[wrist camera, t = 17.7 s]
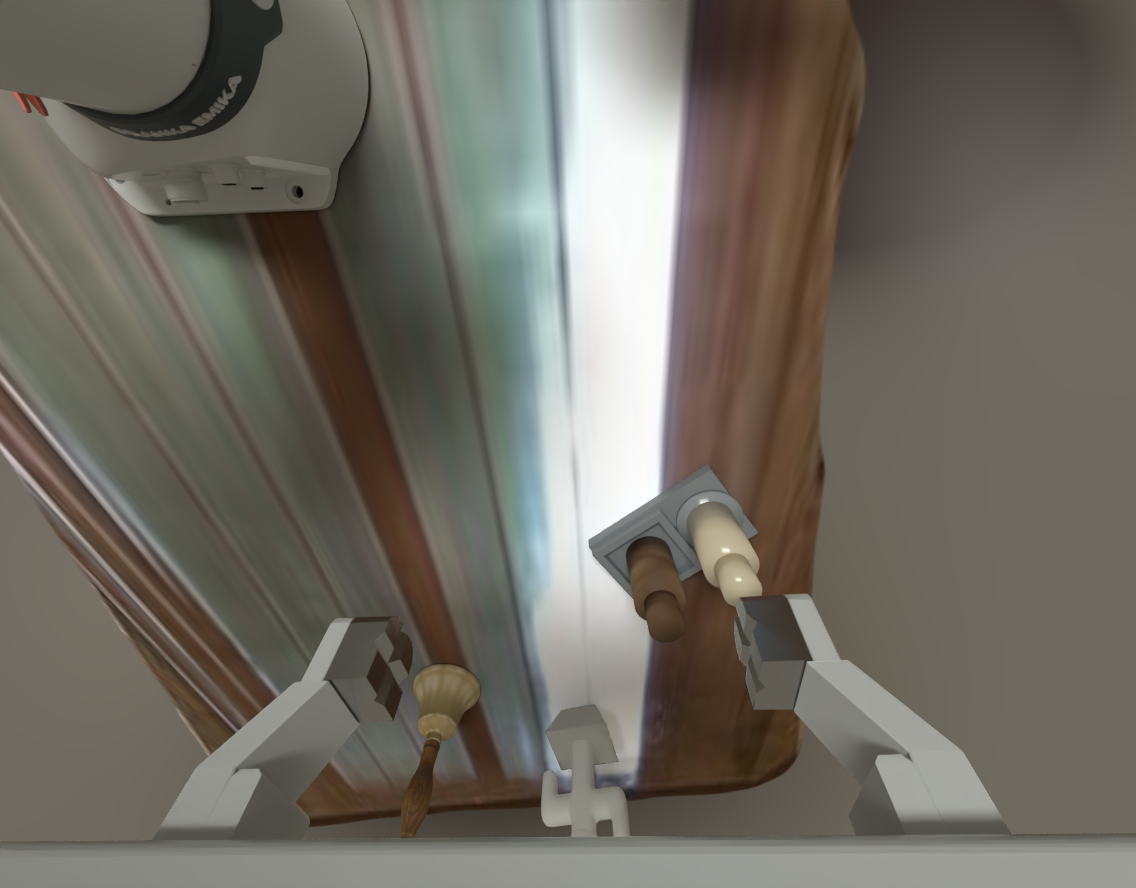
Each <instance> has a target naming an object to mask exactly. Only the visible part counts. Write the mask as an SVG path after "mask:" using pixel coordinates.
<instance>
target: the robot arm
mask: <svg viewBox="0 0 1136 888" xmlns="http://www.w3.org/2000/svg"><path fill="white" fill-rule="evenodd" d="M0 89H3V90H8V91H12V93H13V94H14V95H15V97H16V98H17V100H18V101H19V103H20V104H21V105H22V107H23V108H24V110H25V111H26V112H27V113H31V112H32V111H31V108H30V105H29V103H28V101H27V99H28V100H29V101H30V102H31V103H32V104H33V106H34V107H35V108H36V109H37V110H38V111H39V112H40V113H41V115H43V117H44V118H45V120H46V121H47V123H48V124H49V125H50V127H51V128H52V130H53V131H54V132H55V134H56V135H57V136H58V138H59V139H60V140H61V141H62V143H63V144H64V145H65V146H66V147H67V149H68V150H69V151H70V152H71V153H72V154H73V155H74V156H75V157H76V158H77V159H78V160H79V161H80V162H82V163H83V164H84V165H85V166H86V167H88V168H89V169H90V170H92V171H93V172H95V173H96V174H98V175H100V176H102V177H104V178H105V180H106V181H107V182H108V183H109V184H110V185H111V187H112V188H113V189H114V190H115V191H116V192H117V193H118V194H119V195H120V196H121V197H122V198H123V199H124V200H126V201H127V202H128V203H129V204H130V205H132V206H133V207H134V208H135V209H137V210H138V211H139V212H141V213H143V214H146V215H151V216H160V217H162V216H190V215H213V214H237V213H261V212H285V211H309V210H323V209H326V208H328V207H329V206H330V205H331V203H332V201H333V199H334V196H335V191H336V186H337V180H338V172H339V168H340V165H341V163H342V161H343V159H344V157H345V156H346V154H347V153H348V151H349V150H350V148H351V147H352V145H353V144H354V142H355V140H356V138H357V136H358V134H359V131H360V129H361V126H362V123H363V120H364V116H365V112H366V107H367V99H368V69H367V61H366V55H365V50H364V46H363V42H362V39H361V35H360V32H359V29H358V27H357V24H356V22H355V19H354V17H353V14H352V12H351V10H350V8H349V6H348V4H347V3H346V1H345V0H0ZM26 98H27V99H26ZM123 181H125V182H123ZM299 186H300V187H301V188H302V190H303V196H302V197H301V198H300V197H299V196H298V195H297V188H298V187H299ZM736 608H737V612H738V615H739V617H738V618H736V619H735V627H734V631H735V642H736V647H737V651H738V655H739V659H740V662H741V663H743V664H744V665H745V666H746V667H747V673H746V683H747V687H748V690H749V694H750V697H751V701H752V704H753V707H754V710H755V709H794V712H795V713H796V714H797V715H798V716H799V718H800V719H801V720H802V721H803V722H804V723H805V724H806V725H807V726H808V727H809V729H810V730H811V731H812V732H813V733H814V734H815V735H816V736H817V738H818V739H819V740H820V741H821V742H822V743H823V744H824V745H825V746H826V748H827V749H828V750H829V751H830V752H831V753H832V754H833V755H834V756H835V757H836V759H837V760H838V761H839V762H840V763H841V764H842V765H843V766H844V767H845V769H846V770H847V771H848V772H849V773H850V774H851V775H852V776H853V777H854V778H855V780H856V781H857V782H858V783H859V784H860V785H861V786H862V789H861V791H860V794H859V796H858V797H857V800H856V802H855V804H854V806H853V808H852V810H851V812H850V814H849V818H850V821H851V824H852V827H853V829H854V832H855V835H810V836H809V835H807V836H806V835H805V836H803V835H801V836H800V835H799V836H674V837H673V836H660V837H532V838H531V837H524V838H523V837H522V838H519V837H518V838H392V839H391V838H387V839H385V838H384V839H304V836H305V834H306V831H307V829H308V826H309V823H310V821H309V818H308V815H307V814H305V813H304V812H303V811H302V810H301V809H300V808H299V807H298V806H297V805H296V804H295V802H296V801H297V800H298V798H299V797H300V796H301V795H302V794H303V792H304V791H305V790H306V789H307V788H308V786H309V785H310V784H311V783H312V782H313V780H314V779H315V778H316V777H317V776H318V774H319V773H320V772H321V771H322V769H323V768H324V767H325V766H326V765H327V763H328V762H329V761H330V760H331V759H332V757H333V756H334V755H335V754H336V753H337V751H338V750H339V749H340V748H341V747H342V745H343V744H344V743H345V742H346V741H347V739H348V738H349V737H350V736H351V735H352V733H353V732H354V731H355V730H356V729H357V727H358V726H359V723H366V722H382V721H393V720H394V717H395V714H396V711H397V708H398V705H399V702H400V699H401V696H402V690H401V688H400V685H399V684H400V683H401V682H402V681H403V680H404V679H405V678H406V677H407V676H408V674H409V671H410V667H411V664H412V655H413V649H412V643H411V640H410V638H409V636H408V635H407V634H405V633H403V632H402V631H401V628H402V625H403V624H402V622H401V620H400V619H399V617H398V616H384V617H351V618H336V619H335V620H334V621H333V622H332V623H331V624H330V626H329V628H328V630H327V631H326V633H325V635H324V637H323V639H322V641H321V643H320V645H319V647H318V649H317V651H316V653H315V655H314V657H313V659H312V661H311V663H310V665H309V667H308V669H307V671H306V672H305V674H304V676H303V678H302V680H301V682H294V683H293V684H292V685H291V686H290V687H289V688H288V689H286V690H285V691H284V692H283V693H282V694H281V695H279V696H278V697H277V698H276V699H275V700H274V701H273V702H271V703H270V704H269V705H268V706H267V707H266V708H264V709H263V710H262V711H261V712H260V713H259V714H258V715H256V716H255V717H254V718H253V719H252V720H251V721H249V722H248V723H247V724H246V725H245V726H244V727H243V728H241V729H240V730H239V731H238V732H237V733H236V734H234V735H233V736H232V737H231V738H230V739H229V740H228V741H226V742H225V743H224V744H223V745H222V746H221V747H219V748H218V749H217V750H216V751H215V752H214V753H213V754H211V755H210V756H209V757H208V758H207V759H206V760H204V761H203V762H202V763H201V764H200V765H199V766H198V767H196V769H195V770H194V772H193V774H192V775H191V777H190V779H189V780H188V782H187V784H186V785H185V787H184V789H183V790H182V792H181V794H180V795H179V797H178V798H177V800H176V802H175V803H174V805H173V807H172V808H171V810H170V812H169V813H168V815H167V817H166V818H165V820H164V822H163V823H162V825H161V826H160V828H159V830H158V832H157V833H156V835H155V836H154V838H153V840H127V841H126V840H124V841H122V840H121V841H0V888H1136V833H1092V834H1091V833H1083V834H1080V833H1079V834H1011V832H1010V830H1009V829H1008V827H1007V825H1006V824H1005V822H1004V820H1003V819H1002V817H1001V815H1000V814H999V812H998V810H997V809H996V807H995V805H994V803H993V802H992V800H991V798H990V797H989V795H988V793H987V792H986V790H985V788H984V787H983V785H982V783H981V782H980V780H979V778H978V777H977V775H976V773H975V772H974V770H973V768H972V766H971V765H970V763H969V762H968V760H967V758H966V756H965V755H964V753H963V751H961V750H960V749H959V748H958V747H956V746H955V745H954V744H953V743H951V742H950V741H949V740H948V739H946V738H945V737H944V736H943V735H941V734H940V733H939V732H938V731H936V730H935V729H934V728H932V727H931V726H930V725H929V724H928V723H926V722H925V721H924V720H922V719H921V718H920V717H919V716H918V715H916V714H915V713H914V712H913V711H911V710H910V709H909V708H908V707H906V706H905V705H904V704H903V703H901V702H900V701H899V700H898V699H896V698H895V697H894V696H893V695H891V694H890V693H889V692H888V691H886V690H885V689H884V688H882V687H881V686H880V685H879V684H878V683H876V682H875V681H874V680H873V679H871V678H870V677H869V676H868V675H866V674H865V673H864V672H863V671H861V670H860V669H858V667H856V666H855V665H854V664H853V663H851V662H850V661H849V660H841V659H840V657H839V655H838V653H837V651H836V649H835V647H834V645H833V642H832V640H831V638H830V636H829V634H828V632H827V630H826V628H825V626H824V624H823V622H822V619H821V617H820V615H819V613H818V611H817V609H816V607H815V605H814V603H813V601H812V598H811V597H810V596H809V595H808V594H790V595H782V594H780V595H765V596H750V597H739V598H738V600H737V606H736Z"/></svg>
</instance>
